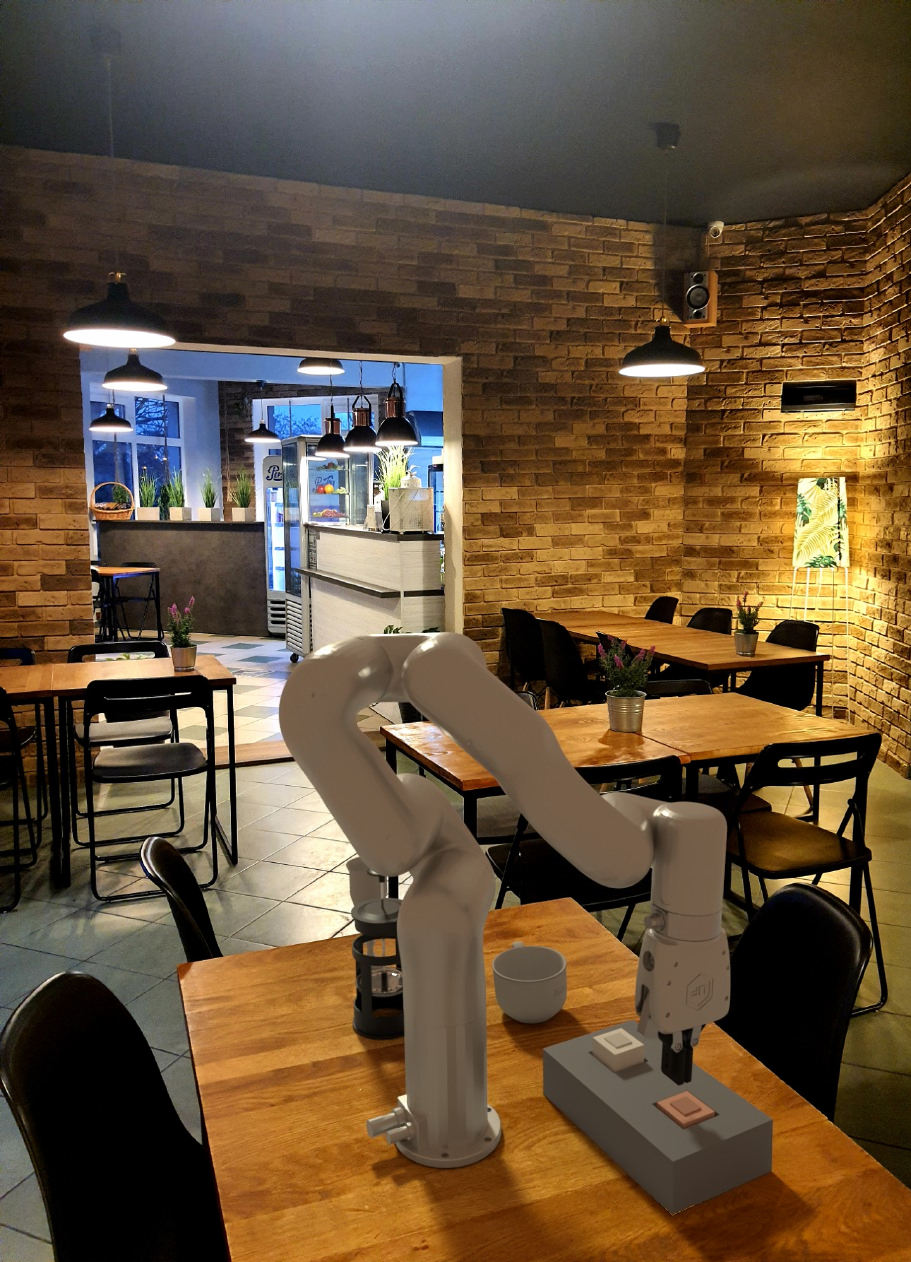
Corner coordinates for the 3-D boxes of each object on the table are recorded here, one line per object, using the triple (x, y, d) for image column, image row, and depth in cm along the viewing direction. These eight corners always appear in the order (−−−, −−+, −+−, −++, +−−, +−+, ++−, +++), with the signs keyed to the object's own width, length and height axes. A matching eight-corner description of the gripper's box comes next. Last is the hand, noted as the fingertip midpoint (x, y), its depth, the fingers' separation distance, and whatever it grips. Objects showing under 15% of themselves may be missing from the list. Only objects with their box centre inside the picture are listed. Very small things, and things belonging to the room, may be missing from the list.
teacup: (570, 1032, 131) (570, 977, 130) (493, 1032, 131) (492, 978, 131) (561, 984, 145) (561, 934, 144) (491, 984, 145) (490, 935, 144)
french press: (335, 1028, 133) (330, 872, 131) (373, 999, 141) (369, 851, 139) (404, 1050, 127) (401, 887, 125) (440, 1018, 135) (437, 864, 133)
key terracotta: (683, 1149, 101) (683, 1122, 101) (656, 1127, 105) (656, 1100, 105) (714, 1136, 103) (714, 1109, 103) (686, 1115, 107) (687, 1088, 107)
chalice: (367, 957, 155) (364, 852, 153) (401, 967, 152) (398, 859, 150) (339, 976, 149) (336, 866, 147) (374, 986, 145) (371, 874, 143)
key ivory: (614, 1078, 111) (614, 1052, 111) (592, 1060, 115) (592, 1035, 115) (643, 1068, 113) (644, 1043, 113) (621, 1050, 117) (621, 1026, 117)
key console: (672, 1216, 96) (672, 1161, 95) (543, 1093, 117) (542, 1048, 116) (771, 1170, 102) (772, 1119, 102) (632, 1062, 123) (632, 1019, 123)
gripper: (653, 945, 95) (644, 1114, 97) (761, 919, 102) (750, 1078, 104) (608, 917, 101) (600, 1076, 103) (712, 894, 108) (703, 1044, 110)
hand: (675, 1076), depth 103 cm, fingers closed
